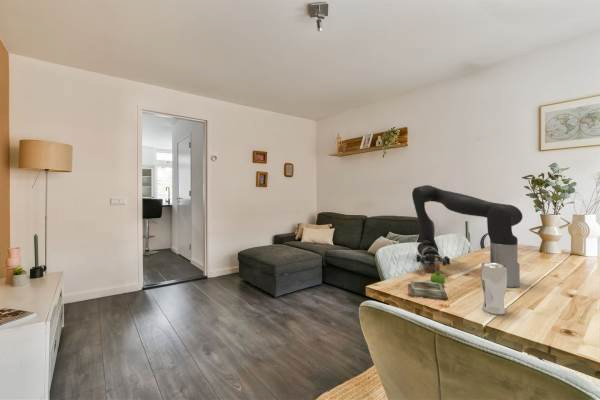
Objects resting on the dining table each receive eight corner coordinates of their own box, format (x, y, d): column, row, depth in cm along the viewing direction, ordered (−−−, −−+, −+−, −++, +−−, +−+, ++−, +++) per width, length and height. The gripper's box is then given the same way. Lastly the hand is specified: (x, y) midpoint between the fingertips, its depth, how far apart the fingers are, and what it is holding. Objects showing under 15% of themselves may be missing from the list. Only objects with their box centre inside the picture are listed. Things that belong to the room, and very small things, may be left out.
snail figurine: (443, 283, 117) (443, 255, 117) (446, 288, 111) (446, 258, 111) (429, 282, 119) (429, 254, 118) (431, 287, 113) (431, 258, 112)
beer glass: (511, 316, 85) (511, 268, 85) (486, 314, 87) (486, 267, 86) (500, 307, 92) (500, 262, 92) (477, 306, 93) (477, 262, 93)
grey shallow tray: (443, 289, 110) (443, 282, 109) (448, 300, 98) (448, 292, 98) (408, 286, 114) (408, 279, 114) (408, 296, 103) (408, 289, 103)
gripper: (415, 247, 143) (417, 253, 128) (446, 248, 138) (451, 255, 123) (415, 261, 143) (417, 269, 128) (446, 263, 138) (451, 272, 123)
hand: (434, 262), depth 125 cm, fingers open, 8 cm apart
